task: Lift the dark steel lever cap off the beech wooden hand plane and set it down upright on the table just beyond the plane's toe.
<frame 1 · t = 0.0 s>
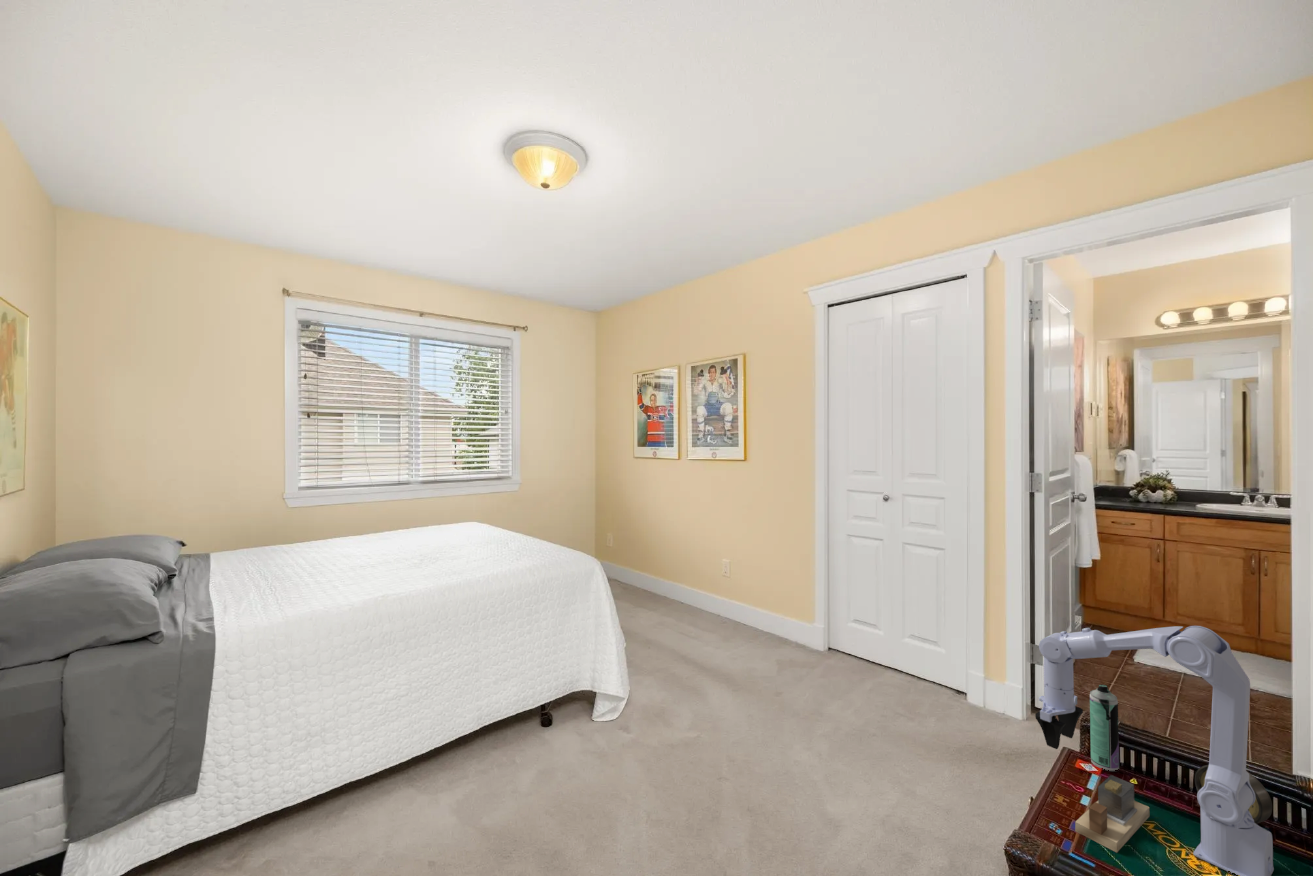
hand: (1059, 741, 129), 10 cm above the table, tool pointing down, fingers open, 7 cm apart
alarm clock: (1234, 823, 115), on the table
hand plane: (1113, 823, 116), on the table
lever cap: (1116, 808, 117), point 2 cm above the table, touching hand plane
spray can: (1104, 765, 136), on the table
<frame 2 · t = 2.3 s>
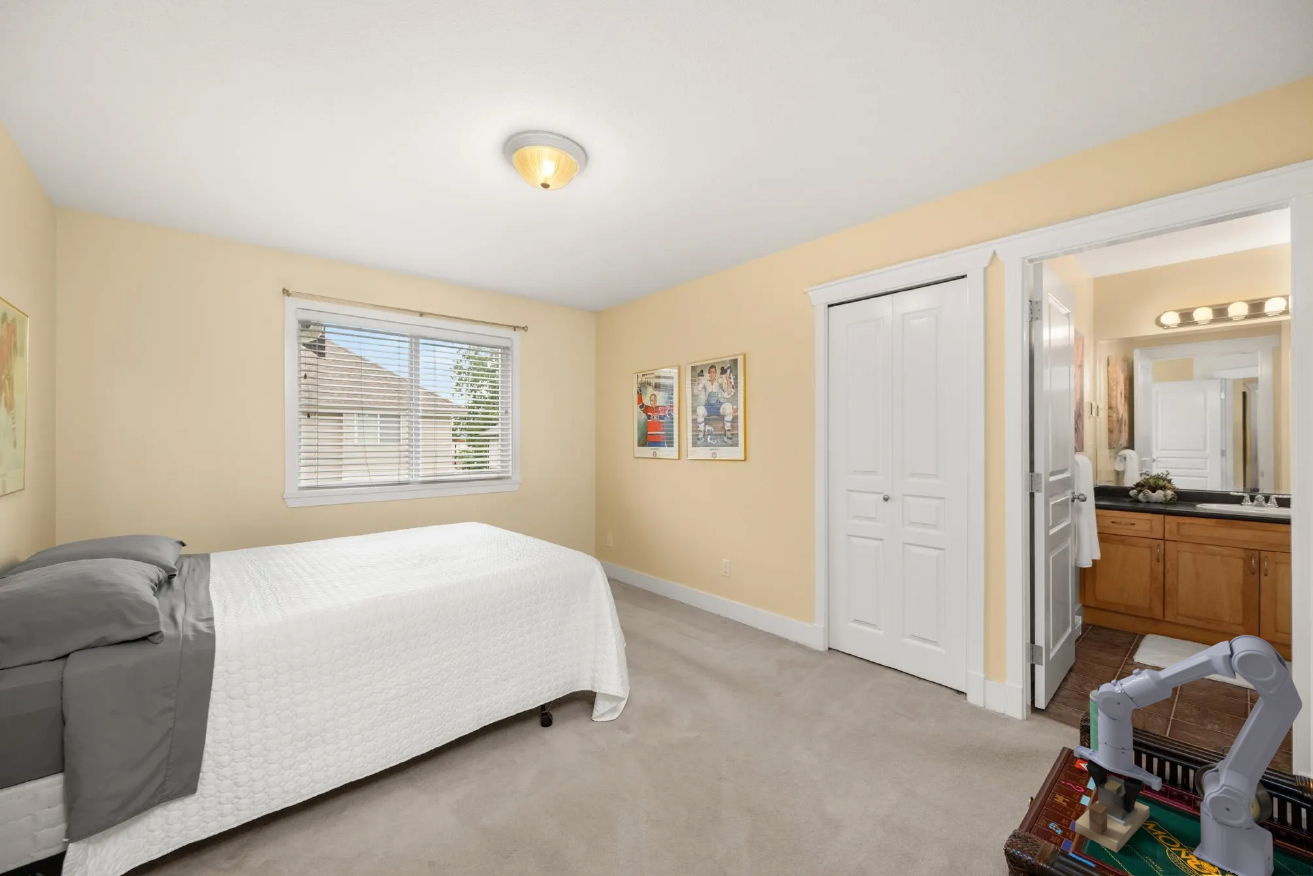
hand: (1116, 804, 117), 3 cm above the table, tool pointing down, fingers closed on lever cap, 4 cm apart
lever cap: (1116, 808, 117), point 2 cm above the table, touching gripper, hand plane
everything else where it was.
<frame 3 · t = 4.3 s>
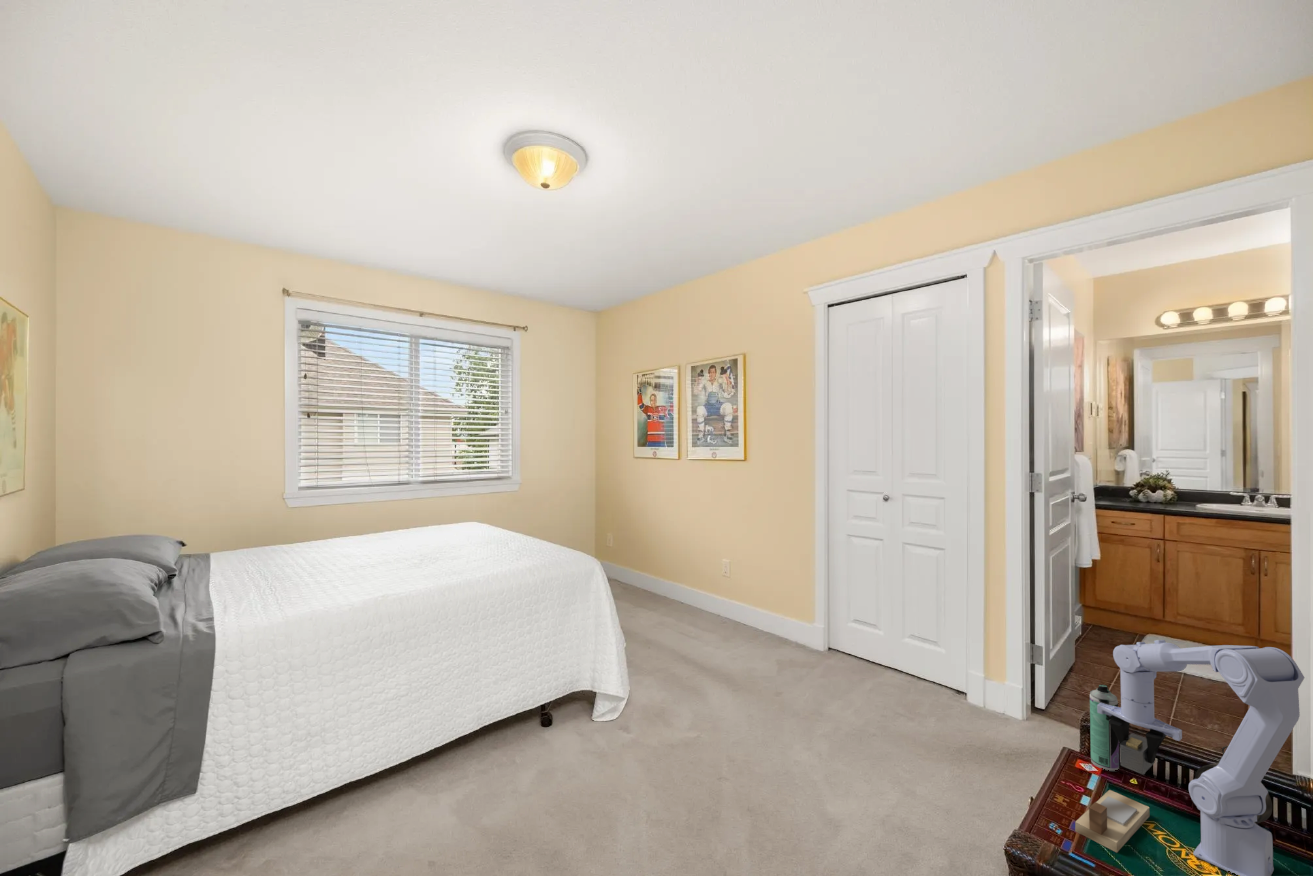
hand: (1138, 756, 124), 9 cm above the table, tool pointing down, fingers closed on lever cap, 4 cm apart
lever cap: (1137, 764, 123), point 8 cm above the table, touching gripper
everything else where it was.
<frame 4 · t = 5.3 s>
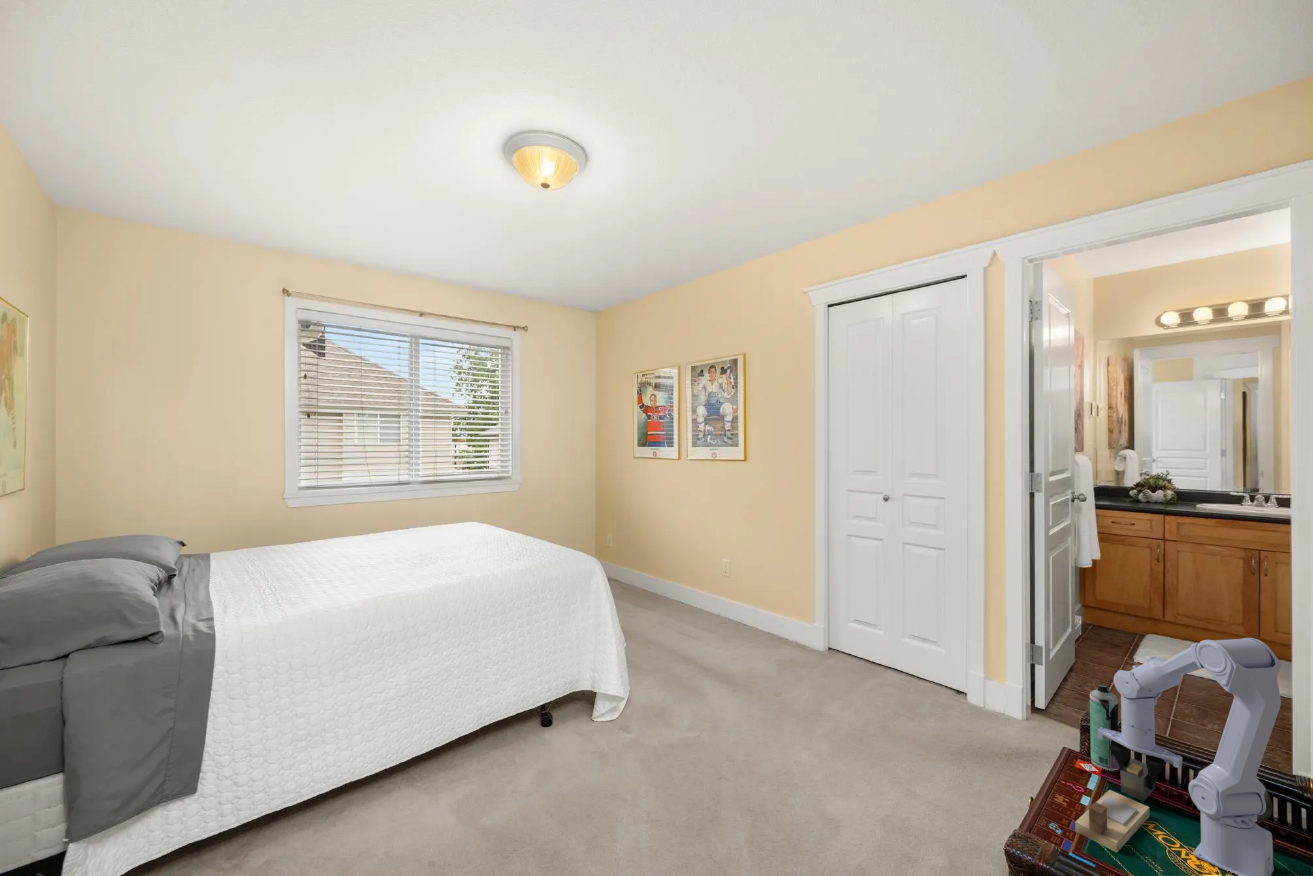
hand: (1138, 782, 124), 3 cm above the table, tool pointing down, fingers closed on lever cap, 4 cm apart
lever cap: (1137, 790, 124), point 2 cm above the table, touching gripper
everything else where it was.
when the fingers open (2 cm above the table, at t = 6.3 s): lever cap stays where it is, on the table.
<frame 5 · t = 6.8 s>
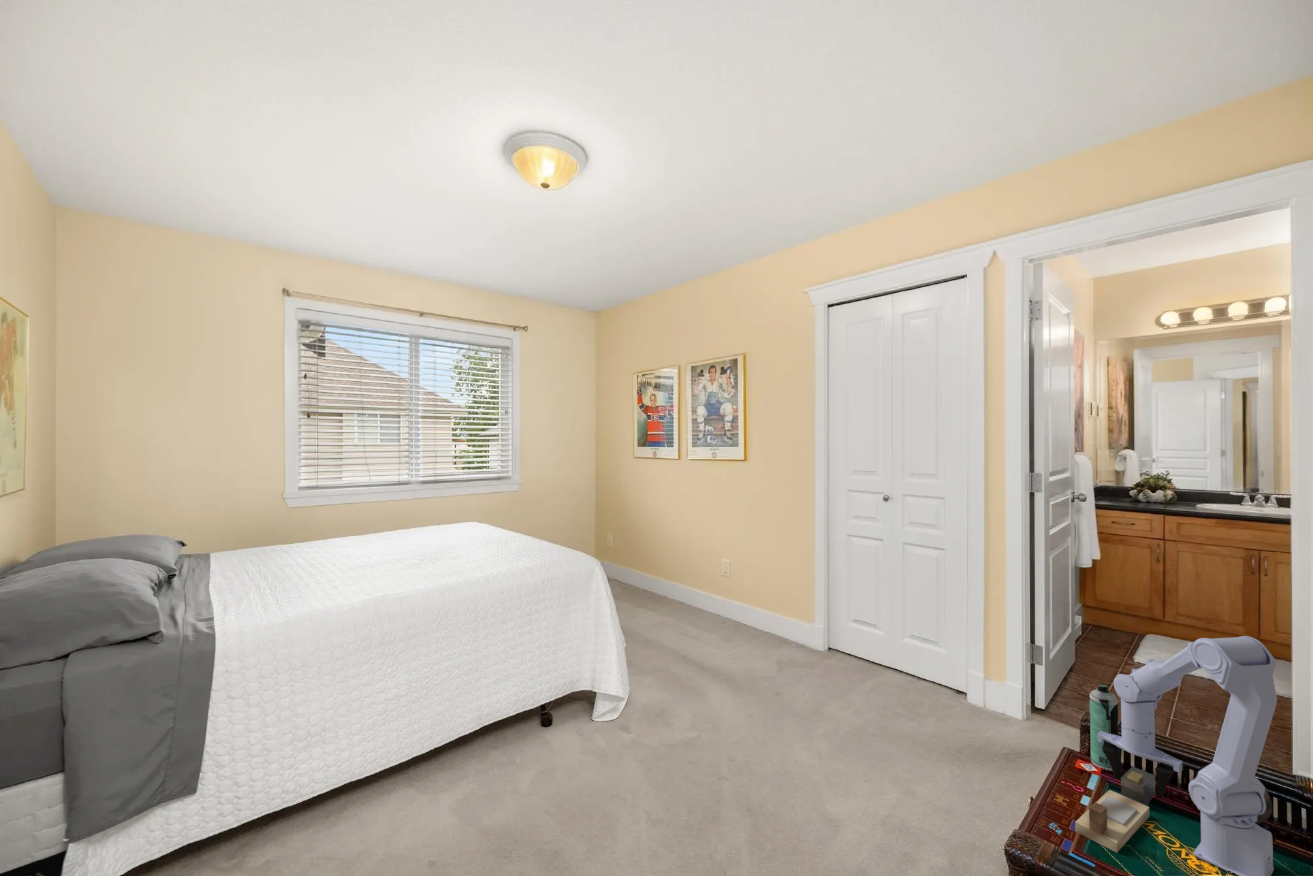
hand: (1138, 786, 124), 2 cm above the table, tool pointing down, fingers open, 7 cm apart
lever cap: (1138, 798, 124), on the table
everything else where it was.
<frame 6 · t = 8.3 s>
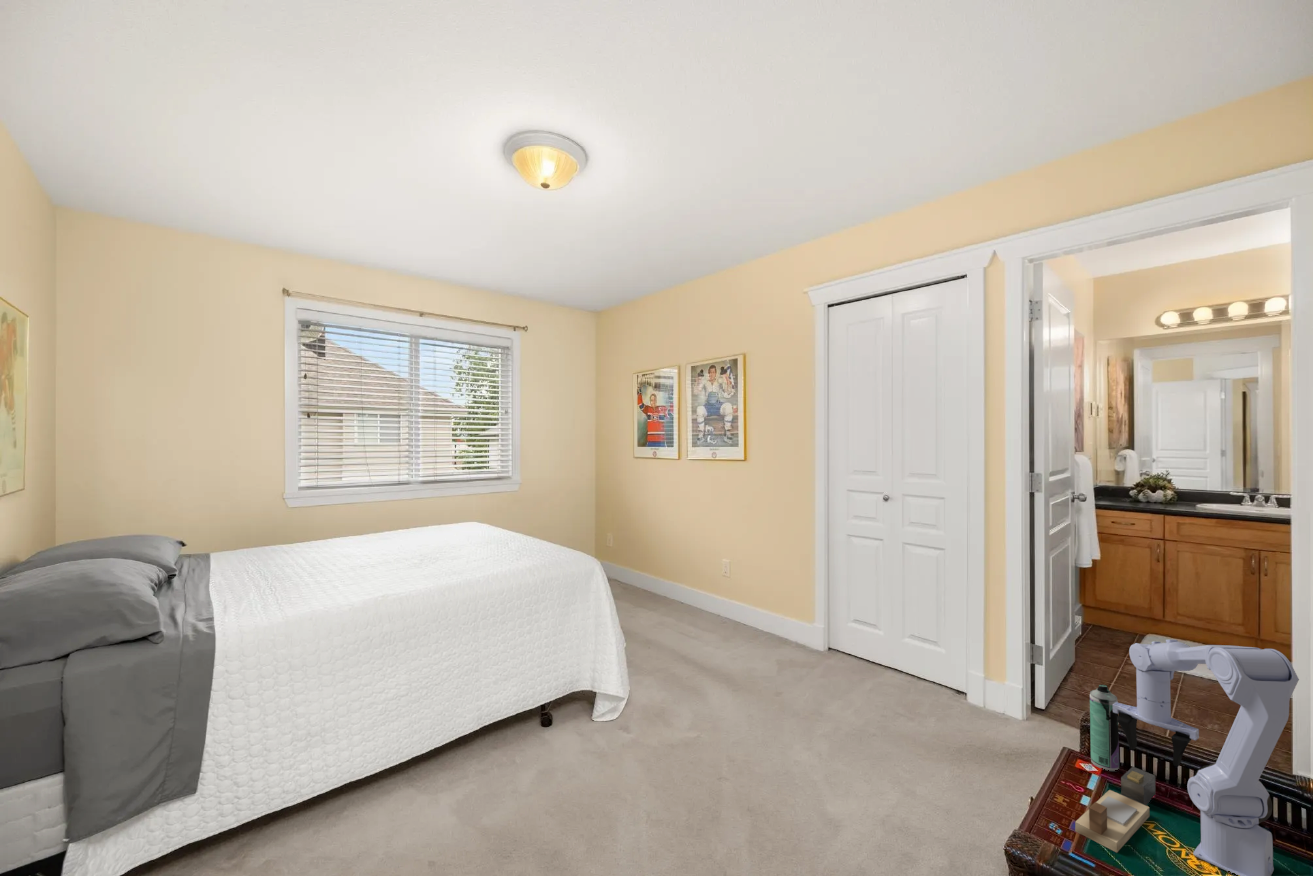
hand: (1154, 756, 124), 9 cm above the table, tool pointing down, fingers open, 7 cm apart
nothing on the table moved.
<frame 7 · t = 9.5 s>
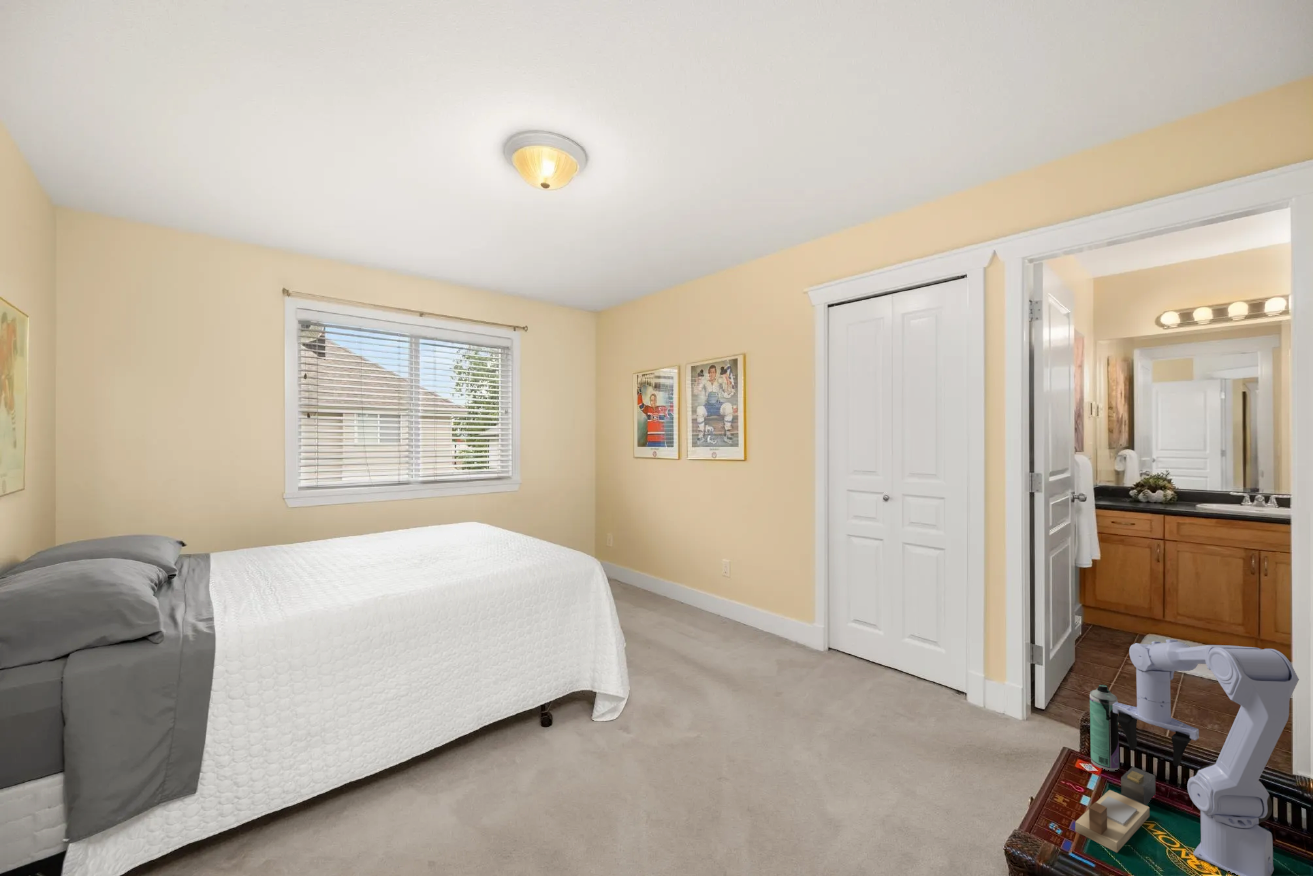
hand: (1154, 756, 124), 9 cm above the table, tool pointing down, fingers open, 7 cm apart
nothing on the table moved.
at the end: lever cap inside the target area (0.4 cm from its centre), on the table; lever cap tilted 0°; the gripper is holding nothing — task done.
